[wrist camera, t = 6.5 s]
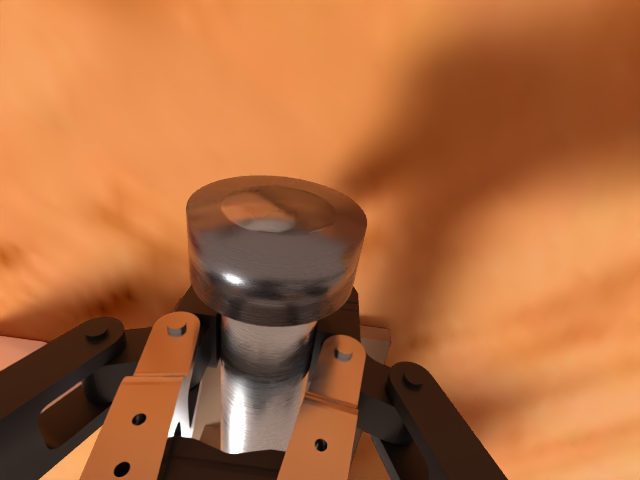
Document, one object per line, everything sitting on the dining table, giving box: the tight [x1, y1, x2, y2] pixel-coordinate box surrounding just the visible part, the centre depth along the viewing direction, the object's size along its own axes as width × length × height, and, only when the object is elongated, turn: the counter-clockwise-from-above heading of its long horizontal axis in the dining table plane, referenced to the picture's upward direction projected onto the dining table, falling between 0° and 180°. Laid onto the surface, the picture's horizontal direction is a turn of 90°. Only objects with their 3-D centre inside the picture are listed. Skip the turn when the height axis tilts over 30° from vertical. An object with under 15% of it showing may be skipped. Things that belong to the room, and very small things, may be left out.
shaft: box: [186, 176, 367, 454], centre depth 15 cm, size 24×5×5 cm, turn 172°
